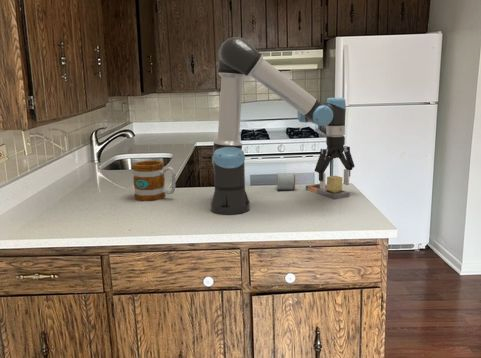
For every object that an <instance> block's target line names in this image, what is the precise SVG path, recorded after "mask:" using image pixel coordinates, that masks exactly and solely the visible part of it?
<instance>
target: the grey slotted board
mask: <svg viewBox="0 0 481 358" xmlns="http://www.w3.org/2000/svg"><path fill="white" fill-rule="evenodd" d="M305 190H306V191H308V190H309V192H311V193H315V194H318V195H320V196H323V197H327V198H329V197H330V198H329V199H333V200H337V199H342V198H343V199H344V198H348V197H349V198H350V196H351V195H350V193H351V192H349V191H346V190H343V189H342V192H340V193H335V194H333V193H330V192H327V184H325V189H322V188H320V183H316V184H308V185H305Z"/></svg>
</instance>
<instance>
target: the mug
mask: <svg viewBox="0 0 481 358" xmlns="http://www.w3.org/2000/svg"><path fill="white" fill-rule="evenodd" d="M164 163H165V162H164V161H160V160H143V161H137V162H136V161H135V162H134V163H132V166H131V167H132V170H133V188H134V200H136V201H139V202H155V201H159V200H160V201H161V200H164V199H165V198H166V194H167V195H172V194H174V193H175V190H176V170H175V168H173V167H172V166H168V167H165V168H164ZM168 170H169V171H171V191H170V190H167V189H166V188H165V183H166V182H165V173H167V172H168Z"/></svg>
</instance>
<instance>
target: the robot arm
mask: <svg viewBox="0 0 481 358" xmlns="http://www.w3.org/2000/svg"><path fill="white" fill-rule="evenodd" d="M217 55H218V56H217V58H218V68H217V74H218V75H219V76H220V77H221V81H220V82H221V84H220V97H219V113H218V125H217V128H218V129H217V139H215V140H214V141H213V145H212V146H213V149H212V156H211V164H212V166H213V175H214V177H213V178H214V193H213V196H212V199H211V201H210V211H212V212H213V213H215V214H220V215H239V214H243V213H246V212H249V211H250V210H251V209H250V208H251V203H250V199H249V196H248V194H247V191H246V176H245V174H246V173H245V166H246V165H245V161H246V157H245V153H244V150H243V143H242V142H241V141H240V130H241V129H240V128H241V127H240V126H241V116H242V114H241V113H242V101H243V100H242V99H243V85H244V79H245V78H247V77H252V78H253V79H254V80H255V81H257V82H258V83H260V84H261V85H262V86H264V87H265V88H266V89H268V90H269V91H271V92H272V93H274V95H276V96H277V97H279V98H280V99H281V100H283V101H284V102H286V103H287V104H288V105H290V106H291V107H292V108H294V109H295V110H296V113H297V120H298V122H300V123H312V124H315V125H317V126H320V127H324V126H326V131H325V132H326V138H325V140H326V141H325V143H326V146H327V147H326V148H320V151H319V156H318V159H317V163H316V164H315V165H316V166H315V168H314V172H315V173H318V181H319V184H320V188H322V189H325V185H326V178H327V176H326V175H327V173H325V171H326V170H327V168H328V167H329V165H330V163H331V161H332V160H333V159H339V160H340V161H341V163H342V165H343V167H344V169H343V181H342V185H345V186H349V185H350V177H351V171H352V170H353V168H355V164H354V160H353V157H352V154H351V147H350V146H348V145H345V144H346V137H345V135H346V112H347V109H346V108H347V107H346V105H347V104H346V99H345V98H344V97H328V98H327V100H326V102H323V103H322V102H321V101H319V100H318V99H317V98H315V97H314V96H312V94H310V93H309V92H307V91H306V90H305V89H304V88H303V87H301V86H300V85H299V84H297V83H296V82H295V81H293V80H292V79H291V78H289V77H288V76H286V75H285V74H283V73H282V72H281V71H279V69H278V68H276V67H274V66H273V65H272V64H271V63H269V62H268V61H267V60H265V59H264V55H263V54H262V53H261V52H260V51H259V50H257V49H256V48H255V47H254V46H253V45H252V44H250V43H249V42H248V41H247V40H246V39H244V38H243V37H241V36H232V37H229V38H227V39H226V40H225V41H224V42H222V44H221V45H220V46H219V48H218V53H217Z"/></svg>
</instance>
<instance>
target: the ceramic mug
mask: <svg viewBox="0 0 481 358" xmlns="http://www.w3.org/2000/svg"><path fill="white" fill-rule="evenodd" d="M295 188H296V175H295V173H290V172H289V173H288V172H287V173H286V172H277V176H276V190H277V191H278V190H280V191H282V190H283V191H285V190H287V191H292V190H295Z"/></svg>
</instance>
